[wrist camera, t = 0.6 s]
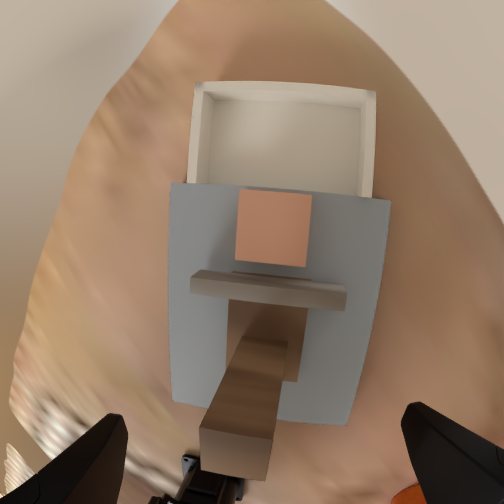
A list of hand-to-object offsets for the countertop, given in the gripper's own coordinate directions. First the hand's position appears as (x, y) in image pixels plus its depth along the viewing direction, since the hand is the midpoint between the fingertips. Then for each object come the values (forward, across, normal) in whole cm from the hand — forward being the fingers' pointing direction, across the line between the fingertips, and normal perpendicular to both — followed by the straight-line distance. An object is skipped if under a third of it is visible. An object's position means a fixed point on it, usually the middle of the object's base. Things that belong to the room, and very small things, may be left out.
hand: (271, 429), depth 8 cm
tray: (+15, -2, -9) cm, 18 cm away
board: (+14, -2, +3) cm, 14 cm away
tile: (+13, -2, -3) cm, 13 cm away
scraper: (+12, -1, +3) cm, 13 cm away
